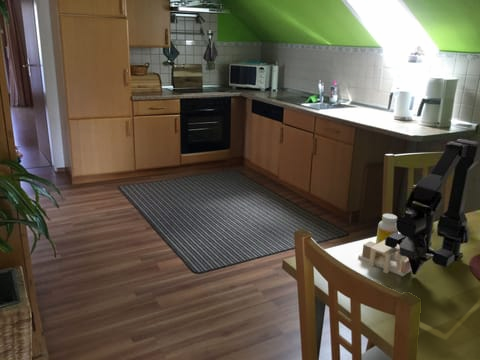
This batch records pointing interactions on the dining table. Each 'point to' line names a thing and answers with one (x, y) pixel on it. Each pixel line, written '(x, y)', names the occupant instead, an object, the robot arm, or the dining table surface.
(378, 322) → the dining table surface
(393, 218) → the supplement bottle
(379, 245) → the small table
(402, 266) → the sled
